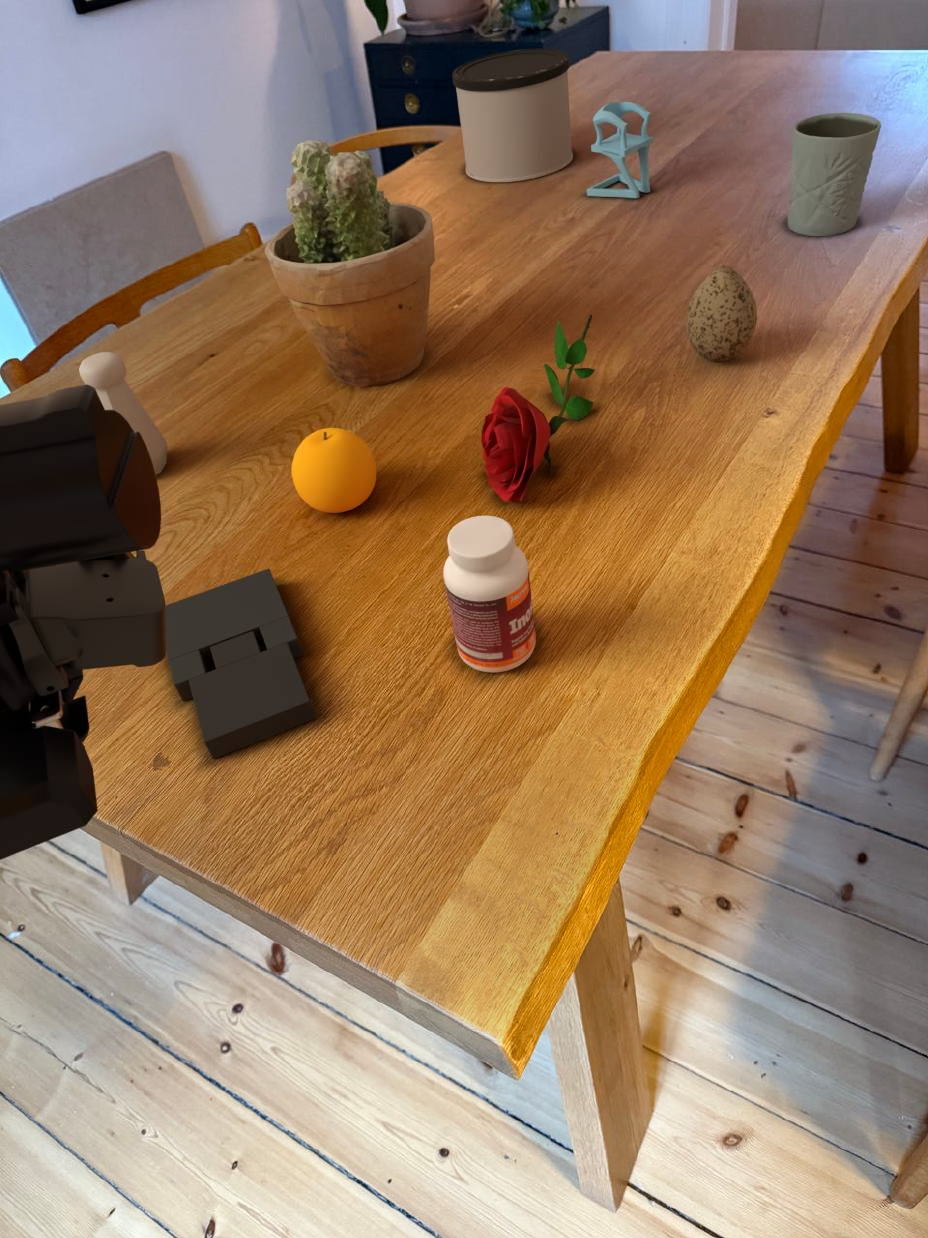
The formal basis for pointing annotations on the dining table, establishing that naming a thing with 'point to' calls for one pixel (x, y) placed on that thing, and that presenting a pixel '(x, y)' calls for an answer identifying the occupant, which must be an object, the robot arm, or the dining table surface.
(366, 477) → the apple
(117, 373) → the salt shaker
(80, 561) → the robot arm
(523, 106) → the container
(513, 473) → the flower
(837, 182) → the green embossed vase
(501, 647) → the pill bottle
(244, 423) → the dining table surface
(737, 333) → the decorative egg
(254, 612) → the dark grey notched block
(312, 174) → the potted plant
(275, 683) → the dark grey tabbed block
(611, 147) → the chair
